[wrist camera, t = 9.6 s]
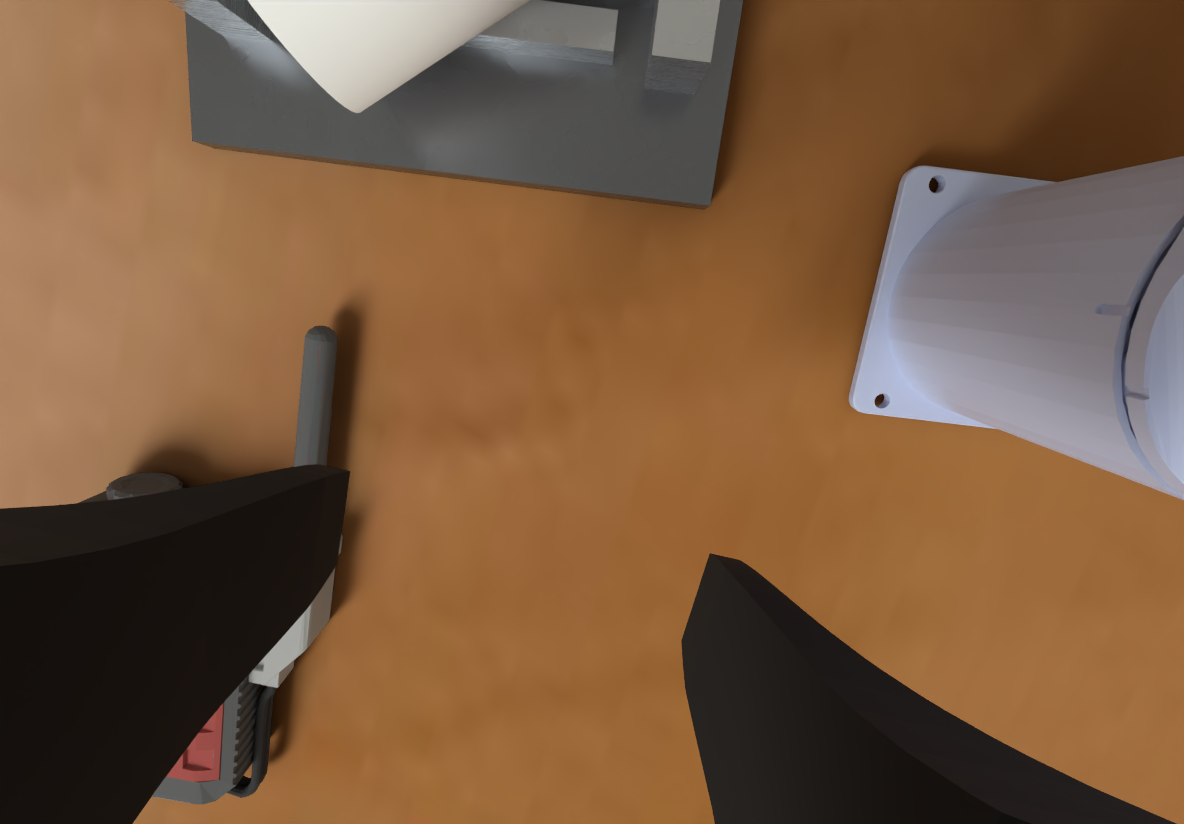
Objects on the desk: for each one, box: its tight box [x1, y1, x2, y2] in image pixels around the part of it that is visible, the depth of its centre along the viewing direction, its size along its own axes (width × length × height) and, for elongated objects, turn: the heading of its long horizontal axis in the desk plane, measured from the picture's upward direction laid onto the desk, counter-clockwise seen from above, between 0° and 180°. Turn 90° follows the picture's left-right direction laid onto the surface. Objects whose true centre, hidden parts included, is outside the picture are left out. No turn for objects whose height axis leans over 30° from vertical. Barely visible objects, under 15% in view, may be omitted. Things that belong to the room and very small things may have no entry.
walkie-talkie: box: [80, 326, 343, 804], centre depth 19 cm, size 9×4×20 cm
